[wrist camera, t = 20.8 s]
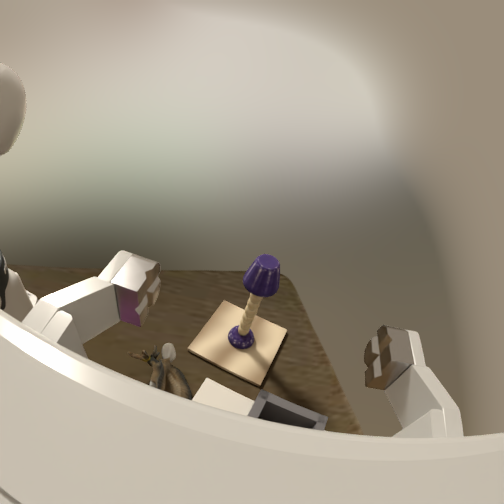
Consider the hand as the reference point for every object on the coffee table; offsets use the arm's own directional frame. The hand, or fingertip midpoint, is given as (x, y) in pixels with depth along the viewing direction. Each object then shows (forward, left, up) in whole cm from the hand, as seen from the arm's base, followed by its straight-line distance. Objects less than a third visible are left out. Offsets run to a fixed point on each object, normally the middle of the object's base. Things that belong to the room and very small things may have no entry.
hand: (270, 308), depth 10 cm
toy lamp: (-5, +21, -32) cm, 38 cm away
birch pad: (-5, +21, -32) cm, 39 cm away
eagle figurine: (-10, +8, -32) cm, 35 cm away
